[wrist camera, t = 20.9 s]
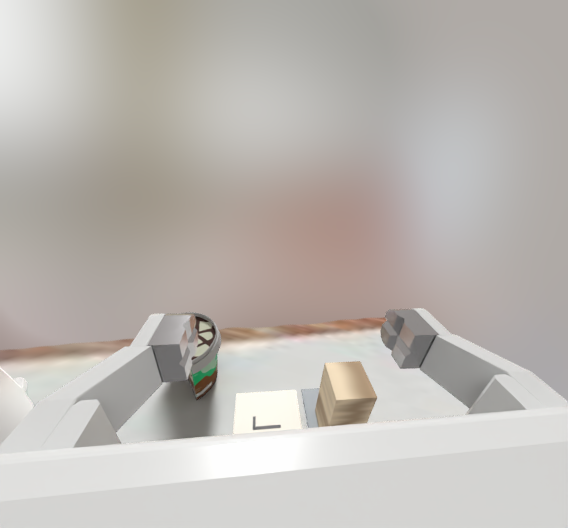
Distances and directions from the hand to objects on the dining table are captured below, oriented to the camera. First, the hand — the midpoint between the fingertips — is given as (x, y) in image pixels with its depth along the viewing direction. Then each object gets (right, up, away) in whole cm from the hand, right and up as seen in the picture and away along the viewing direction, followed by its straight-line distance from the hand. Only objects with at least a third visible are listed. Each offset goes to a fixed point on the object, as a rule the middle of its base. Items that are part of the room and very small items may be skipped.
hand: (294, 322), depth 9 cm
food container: (-15, -17, +31) cm, 38 cm away
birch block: (+7, -22, +24) cm, 33 cm away
